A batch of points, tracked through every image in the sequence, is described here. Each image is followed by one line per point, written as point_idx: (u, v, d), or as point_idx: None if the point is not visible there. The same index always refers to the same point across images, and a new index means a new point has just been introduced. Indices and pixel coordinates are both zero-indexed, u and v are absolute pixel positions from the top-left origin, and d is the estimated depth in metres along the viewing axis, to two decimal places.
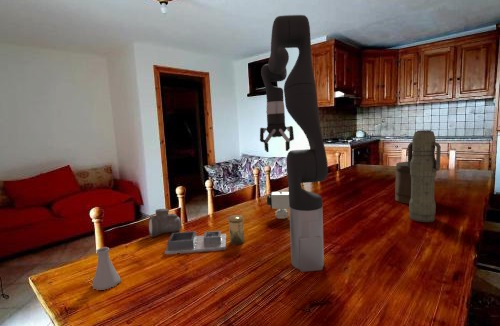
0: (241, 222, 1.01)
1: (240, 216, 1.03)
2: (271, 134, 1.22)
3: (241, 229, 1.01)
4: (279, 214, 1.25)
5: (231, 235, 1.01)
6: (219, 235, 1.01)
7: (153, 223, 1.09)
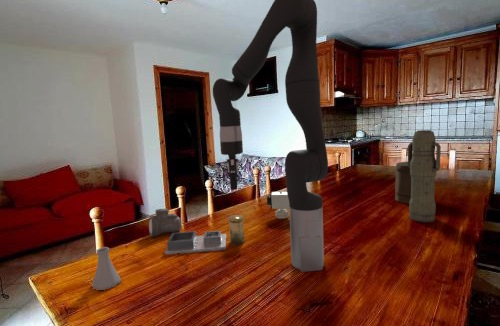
0: (241, 222, 1.01)
1: (240, 216, 1.03)
2: (237, 166, 0.97)
3: (241, 229, 1.01)
4: (279, 214, 1.25)
5: (231, 235, 1.01)
6: (219, 235, 1.01)
7: (153, 223, 1.09)
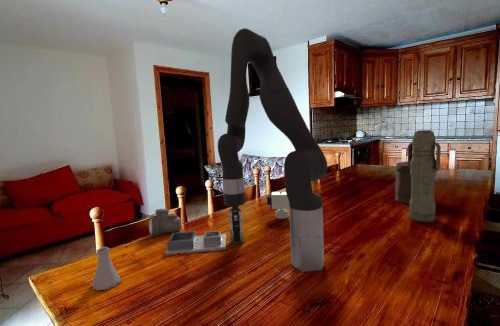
0: (241, 222, 1.01)
1: None
2: (240, 217, 1.00)
3: (241, 229, 1.01)
4: (279, 214, 1.25)
5: (231, 235, 1.01)
6: (219, 235, 1.01)
7: (153, 223, 1.09)
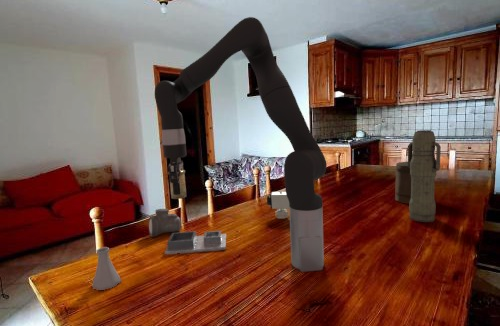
0: (181, 175, 0.97)
1: (182, 170, 0.99)
2: (180, 170, 0.97)
3: (181, 183, 0.97)
4: (279, 214, 1.25)
5: (171, 189, 0.98)
6: (219, 235, 1.01)
7: (153, 223, 1.09)
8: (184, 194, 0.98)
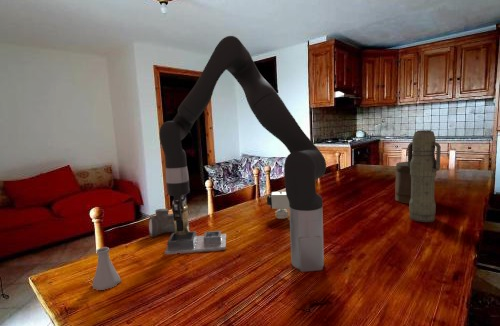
0: (185, 212, 0.99)
1: (185, 206, 1.01)
2: (183, 207, 0.98)
3: (185, 219, 0.99)
4: (279, 214, 1.25)
5: (175, 225, 0.99)
6: (219, 235, 1.01)
7: (153, 223, 1.09)
8: (187, 230, 1.00)
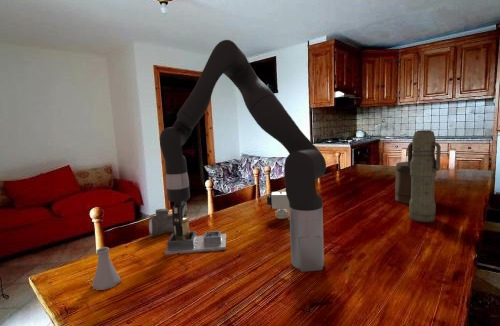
0: (186, 223, 0.99)
1: (186, 217, 1.01)
2: (183, 212, 0.98)
3: (186, 230, 1.00)
4: (279, 214, 1.25)
5: (176, 236, 1.00)
6: (219, 235, 1.01)
7: (153, 223, 1.09)
8: None
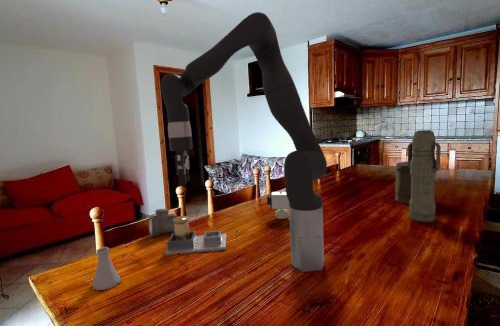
0: (186, 223, 0.99)
1: (186, 217, 1.01)
2: (186, 162, 0.96)
3: (186, 230, 1.00)
4: (279, 214, 1.25)
5: (176, 236, 1.00)
6: (219, 235, 1.01)
7: (153, 223, 1.09)
8: None
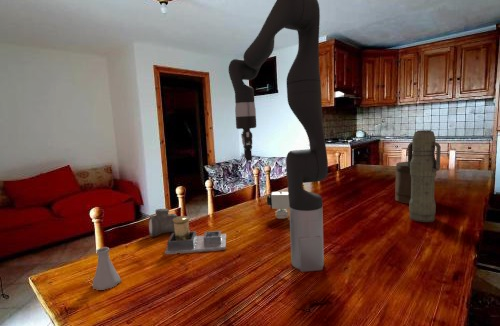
0: (186, 223, 0.99)
1: (186, 217, 1.01)
2: None
3: (186, 230, 1.00)
4: (279, 214, 1.25)
5: (176, 236, 1.00)
6: (219, 235, 1.01)
7: (153, 223, 1.09)
8: None
